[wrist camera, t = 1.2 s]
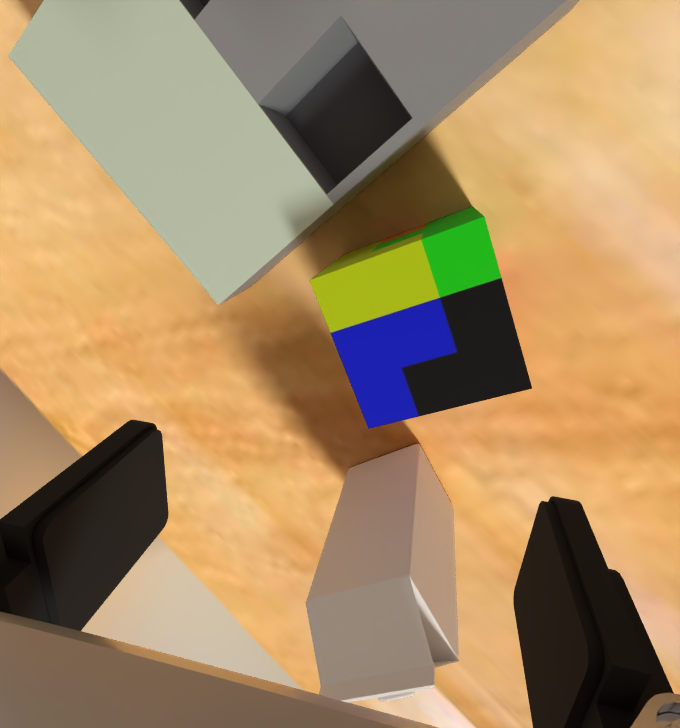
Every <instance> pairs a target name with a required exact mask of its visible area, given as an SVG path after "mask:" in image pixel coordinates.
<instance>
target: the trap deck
mask: <svg viewBox="0 0 680 728" xmlns="http://www.w3.org/2000/svg"><path fill="white" fill-rule="evenodd" d="M578 1H579V0H44V1H43V2H42V4H41V5H40V7H39V9H38V10H37V12H36V13H35V15H34V16H33V18H32V20H31V21H30V23H29V24H28V26H27V27H26V29H25V31H24V32H23V34H22V35H21V37H20V38H19V40H18V42H17V43H16V45H15V46H14V48H13V49H12V51H11V53H10V54H9V58H10V59H11V60H12V61H13V62H14V63H15V65H16V66H17V67H18V68H19V69H20V71H21V72H22V73H23V74H24V75H25V77H26V78H27V79H28V80H29V81H30V82H31V84H32V85H33V86H34V87H35V88H36V90H37V91H38V92H39V93H40V94H41V96H42V97H43V98H44V99H45V100H46V101H47V103H48V104H49V105H50V106H51V107H52V109H53V110H54V111H55V112H56V113H57V114H58V116H59V117H60V118H61V119H62V120H63V122H64V123H65V124H66V125H67V126H68V128H69V129H70V130H71V131H72V132H73V133H74V135H75V136H76V137H77V138H78V139H79V141H80V142H81V143H82V144H83V145H84V147H85V148H86V149H87V150H88V151H89V152H90V154H91V155H92V156H93V157H94V158H95V160H96V161H97V162H98V163H99V164H100V166H101V167H102V168H103V169H104V170H105V171H106V173H107V174H108V175H109V176H110V177H111V179H112V180H113V181H114V182H115V183H116V184H117V186H118V187H119V188H120V189H121V190H122V192H123V193H124V194H125V195H126V196H127V198H128V199H129V200H130V201H131V202H132V203H133V205H134V206H135V207H136V208H137V209H138V211H139V212H140V213H141V214H142V215H143V217H144V218H145V219H146V220H147V221H148V222H149V224H150V225H151V226H152V227H153V228H154V230H155V231H156V232H157V233H158V234H159V235H160V237H161V238H162V239H163V240H164V241H165V243H166V244H167V245H168V246H169V247H170V249H171V250H172V251H173V252H174V253H175V254H176V256H177V257H178V258H179V259H180V260H181V262H182V263H183V264H184V265H185V266H186V268H187V269H188V270H189V271H190V272H191V273H192V275H193V276H194V277H195V278H196V279H197V281H198V282H199V283H200V284H201V285H202V287H203V288H204V289H205V290H206V291H207V292H208V294H209V295H210V296H211V297H212V298H213V300H214V301H215V302H216V303H217V304H218V305H219V304H221V303H223V302H225V301H226V300H228V299H230V298H232V297H234V296H235V295H237V294H239V293H241V292H242V291H244V290H246V289H248V288H250V287H251V286H252V285H253V284H254V283H255V282H257V281H258V280H259V279H260V278H261V277H262V276H264V275H265V274H266V273H267V272H268V271H269V270H271V269H272V268H273V267H274V266H275V265H276V264H277V263H279V262H280V261H281V260H282V259H283V258H284V257H286V256H287V255H288V254H289V253H290V252H291V251H293V250H294V249H295V248H296V247H297V246H298V245H299V244H301V243H302V242H303V241H304V240H305V239H306V238H308V237H309V236H310V235H311V234H312V233H313V232H314V231H316V230H317V229H318V228H319V227H320V226H321V225H323V224H324V223H325V222H326V221H327V220H328V219H330V218H331V217H332V216H333V215H334V214H335V213H336V212H338V211H339V210H340V209H341V208H342V207H343V206H345V205H346V204H347V203H348V202H349V201H350V200H352V199H353V198H354V197H355V196H356V195H357V194H358V193H360V192H361V191H362V190H363V189H364V188H365V187H367V186H368V185H369V184H370V183H371V182H372V181H374V180H375V179H376V178H377V177H378V176H379V175H380V174H382V173H383V172H384V171H385V170H386V169H387V168H389V167H390V166H391V165H392V164H393V163H394V162H396V161H397V160H398V159H399V158H400V157H401V156H402V155H404V154H405V153H406V152H407V151H408V150H409V149H411V148H412V147H413V146H414V145H415V144H416V143H418V142H419V141H420V140H421V139H422V138H423V137H424V136H426V135H427V134H428V133H429V132H430V131H431V130H433V129H434V128H435V127H436V126H437V125H438V124H440V123H441V122H442V121H443V120H444V119H445V118H446V117H448V116H449V115H450V114H451V113H452V112H453V111H455V110H456V109H457V108H458V107H459V106H460V105H462V104H463V103H464V102H465V101H466V100H467V99H468V98H470V97H471V96H472V95H473V94H474V93H475V92H477V91H478V90H479V89H480V88H481V87H482V86H484V85H485V84H486V83H487V82H488V81H489V80H490V79H492V78H493V77H494V76H495V75H496V74H497V73H499V72H500V71H501V70H502V69H503V68H504V67H506V66H507V65H508V64H509V63H510V62H511V61H512V60H514V59H515V58H516V57H517V56H518V55H519V54H521V53H522V52H523V51H524V50H525V49H526V48H528V47H529V46H530V45H531V44H532V43H533V42H534V41H536V40H537V39H538V38H539V37H540V36H541V35H543V34H544V33H545V32H546V31H547V30H548V29H549V28H551V27H552V26H553V25H554V24H555V23H556V22H558V21H559V20H560V19H561V18H562V17H563V16H565V15H566V14H567V13H568V12H569V11H570V10H571V9H572V8H573V7H574V6H575V5H576V3H577V2H578Z"/></svg>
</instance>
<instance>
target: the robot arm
mask: <svg viewBox="0 0 680 728" xmlns="http://www.w3.org/2000/svg"><path fill="white" fill-rule="evenodd" d="M167 519H168V503H167V491H166V478H165V466H164V454H163V441H162V433H161V431H159V430H157V427H156V426H155V424H153V423H148V422H143V421H138V420H130V421H128V422H127V423H126V424H124V425H123V426H122V427H120V428H119V429H118V430H116V431H115V432H114V433H112V434H111V435H110V436H109V437H107V438H106V439H105V440H103V441H102V442H101V443H99V444H98V445H97V446H95V447H94V448H93V449H92V450H90V451H89V452H88V453H86V454H85V455H84V456H82V457H81V458H80V459H78V460H77V461H76V462H75V463H73V464H72V465H71V466H69V467H68V468H67V469H65V470H64V471H63V472H61V473H60V474H59V475H58V476H56V477H55V478H54V479H52V480H51V481H50V482H48V483H47V484H46V485H45V486H43V487H42V488H41V489H39V490H38V491H37V492H35V493H34V494H33V495H32V496H30V497H29V498H27V499H26V500H25V501H24V502H23V503H21V504H20V505H18V506H17V507H16V508H15V509H13V510H12V511H10V512H9V513H8V514H7V515H5V516H4V517H3V518H1V519H0V728H437V727H434V726H431V725H427V724H423V723H420V722H416V721H413V720H409V719H405V718H402V717H398V716H394V715H391V714H387V713H383V712H380V711H376V710H373V709H369V708H365V707H362V706H358V705H354V704H351V703H347V702H343V701H340V700H336V699H333V698H329V697H325V696H322V695H318V694H314V693H311V692H307V691H303V690H300V689H296V688H292V687H288V686H285V685H281V684H277V683H274V682H270V681H266V680H262V679H259V678H255V677H252V676H247V675H244V674H240V673H237V672H233V671H229V670H225V669H222V668H218V667H214V666H211V665H206V664H203V663H199V662H196V661H192V660H188V659H184V658H181V657H177V656H173V655H169V654H166V653H162V652H158V651H154V650H150V649H146V648H142V647H139V646H135V645H131V644H127V643H124V642H120V641H116V640H112V639H108V638H104V637H101V636H97V635H93V634H89V633H85V632H82V631H81V630H82V628H83V627H84V626H85V625H86V624H87V622H88V621H89V620H90V619H91V617H92V616H93V615H94V614H95V612H96V611H97V610H98V609H99V607H100V606H101V605H102V604H103V603H104V601H105V600H106V599H107V598H108V596H109V595H110V594H111V593H112V591H113V590H114V589H115V588H116V587H117V585H118V584H119V583H120V582H121V580H122V579H123V578H124V577H125V575H126V574H127V573H128V572H129V570H130V569H131V568H132V567H133V565H134V564H135V563H136V562H137V560H138V559H139V558H140V557H141V555H142V554H143V553H144V552H145V551H146V549H147V548H148V547H149V546H150V544H151V543H152V542H153V541H154V539H155V538H156V537H157V536H158V534H159V533H160V532H161V531H162V530H163V528H164V527H165V525H166V522H167ZM514 610H515V616H516V623H517V629H518V635H519V641H520V648H521V654H522V660H523V666H524V673H525V679H526V685H527V691H528V698H529V704H530V710H531V716H532V723H533V728H680V695H679V694H674V693H673V691H672V688H671V686H670V684H669V682H668V679H667V677H666V675H665V673H664V670H663V668H662V666H661V664H660V661H659V659H658V657H657V655H656V652H655V650H654V648H653V646H652V643H651V641H650V639H649V636H648V634H647V632H646V630H645V627H644V625H643V623H642V621H641V618H640V616H639V614H638V612H637V609H636V607H635V605H634V603H633V600H632V598H631V596H630V594H629V591H628V589H627V587H626V585H625V582H624V580H623V578H622V577H621V575H620V573H618V572H617V571H616V570H612V569H608V567H607V565H606V562H605V560H604V557H603V555H602V553H601V550H600V548H599V545H598V543H597V541H596V538H595V536H594V533H593V531H592V529H591V526H590V524H589V521H588V519H587V517H586V514H585V512H584V509H583V507H582V505H581V503H580V502H579V501H575V500H570V499H565V498H559V497H554V496H552V497H551V498H550V499H549V501H548V502H545V501H541V503H540V504H539V507H538V511H537V514H536V517H535V521H534V524H533V528H532V531H531V534H530V538H529V541H528V545H527V548H526V552H525V555H524V558H523V562H522V565H521V569H520V572H519V575H518V579H517V582H516V586H515V590H514Z"/></svg>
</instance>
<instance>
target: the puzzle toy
mask: <svg viewBox="0 0 680 728" xmlns="http://www.w3.org/2000/svg"><path fill="white" fill-rule="evenodd" d="M310 283H311V285H312V288H313V290H314V293H315V295H316V298H317V300H318V303H319V305H320V308H321V310H322V313H323V315H324V318H325V320H326V323H327V325H328V328H329V330H330V333H331V336H332V338H333V341H334V343H335V346H336V348H337V351H338V353H339V356H340V358H341V361H342V363H343V366H344V368H345V371H346V373H347V376H348V378H349V381H350V383H351V386H352V388H353V391H354V393H355V396H356V398H357V401H358V403H359V406H360V408H361V411H362V413H363V416H364V418H365V421H366V423H367V426H368V428H374V427H378V426H382V425H386V424H390V423H394V422H398V421H402V420H406V419H410V418H414V417H418V416H422V415H426V414H430V413H434V412H438V411H442V410H447V409H451V408H455V407H459V406H463V405H467V404H471V403H475V402H479V401H483V400H487V399H491V398H495V397H499V396H503V395H507V394H511V393H516V392H520V391H524V390H528V389H532V386H531V383H530V379H529V375H528V372H527V368H526V365H525V361H524V357H523V354H522V350H521V347H520V343H519V340H518V336H517V332H516V329H515V325H514V322H513V318H512V314H511V311H510V307H509V304H508V300H507V296H506V293H505V289H504V286H503V282H502V278H501V275H500V271H499V268H498V264H497V261H496V257H495V253H494V250H493V246H492V243H491V239H490V235H489V232H488V228H487V225H486V221H485V217H484V216H483V215H482V214H481V213H480V212H478V211H477V210H476V209H475V208H474V207H473V206H472V207H470V208H467V209H464V210H462V211H459V212H456V213H454V214H451V215H448V216H446V217H443V218H440V219H438V220H435V221H432V222H429V223H427V224H424V225H421V226H419V227H416V228H413V229H411V230H408V231H405V232H403V233H400V234H397V235H395V236H392V237H389V238H387V239H384V240H381V241H379V242H376V243H373V244H371V245H368V246H365V247H363V248H360V249H357V250H355V251H352V252H349V253H347V254H344V255H342V256H341V257H339V258H338V259H337V260H335V261H334V262H333V263H332V264H330V265H329V266H328V267H326V268H325V269H324V270H322V271H321V272H320V273H318V274H317V275H316V276H314V277H313V278H312V279H311V280H310Z"/></svg>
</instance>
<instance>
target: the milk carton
mask: <svg viewBox="0 0 680 728" xmlns="http://www.w3.org/2000/svg"><path fill="white" fill-rule="evenodd" d="M306 607H307V613H308V618H309V623H310V629H311V634H312V640H313V645H314V651H315V656H316V662H317V667H318V673H319V678H320V684H321V689H320V693H319V695H322V696H325V697H329V698H333V699H336V700H340V701H343V702H353V701H359V700H365V699H371V698H377V697H378V699H379V701H390V700H396V699H401V698H406V697H410V696H412V695H414V694H415V691H419V690H425V689H431V688H434V686H435V668H436V667H440V666H443V665H447V664H451V663H454V662H458V661H459V646H458V619H457V593H456V566H455V540H454V514H453V505H452V504H451V502H450V500H449V498H448V496H447V494H446V492H445V491H444V489H443V487H442V485H441V483H440V481H439V479H438V477H437V476H436V474H435V472H434V470H433V468H432V466H431V464H430V463H429V461H428V459H427V457H426V455H425V453H424V451H423V449H422V448H421V446H420V444H414V445H411V446H409V447H406V448H403V449H400V450H398V451H395V452H392V453H389V454H386V455H384V456H381V457H378V458H375V459H373V460H370V461H367V462H364V463H362V464H359V465H356V466H353V467H351V468H349V470H348V472H347V476H346V479H345V482H344V485H343V488H342V491H341V494H340V498H339V501H338V504H337V507H336V510H335V513H334V516H333V519H332V523H331V526H330V529H329V532H328V535H327V538H326V541H325V545H324V548H323V551H322V554H321V557H320V560H319V563H318V566H317V570H316V573H315V576H314V579H313V582H312V585H311V588H310V592H309V595H308V598H307V601H306Z"/></svg>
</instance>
